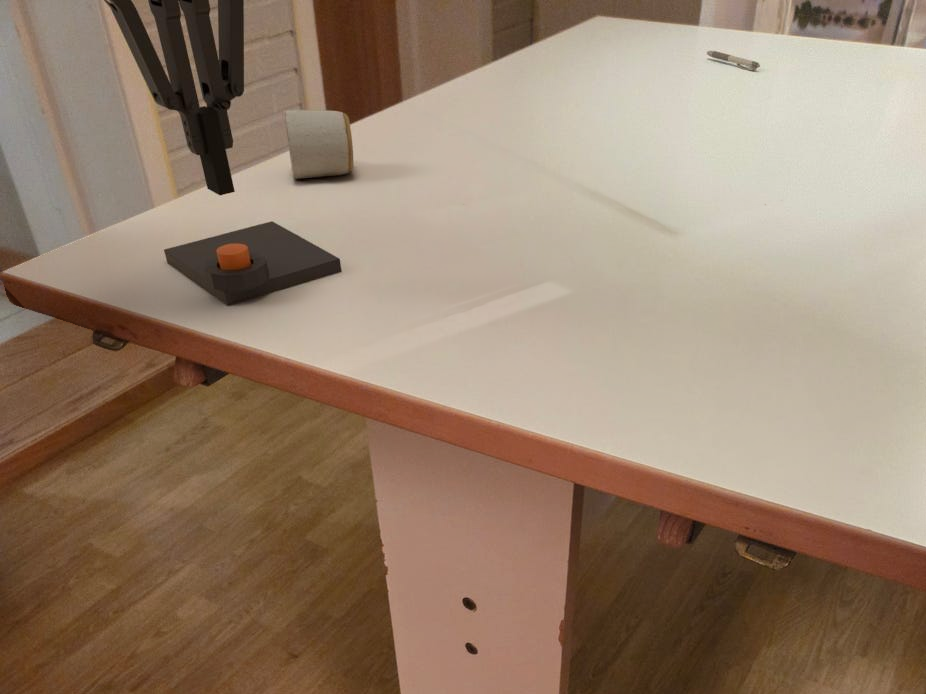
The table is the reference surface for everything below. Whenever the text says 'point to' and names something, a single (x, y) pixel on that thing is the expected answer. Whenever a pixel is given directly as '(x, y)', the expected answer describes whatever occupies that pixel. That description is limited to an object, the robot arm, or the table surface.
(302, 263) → the dark grey flat block
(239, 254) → the button
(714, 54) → the pen
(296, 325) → the table surface
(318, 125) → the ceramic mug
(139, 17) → the robot arm
